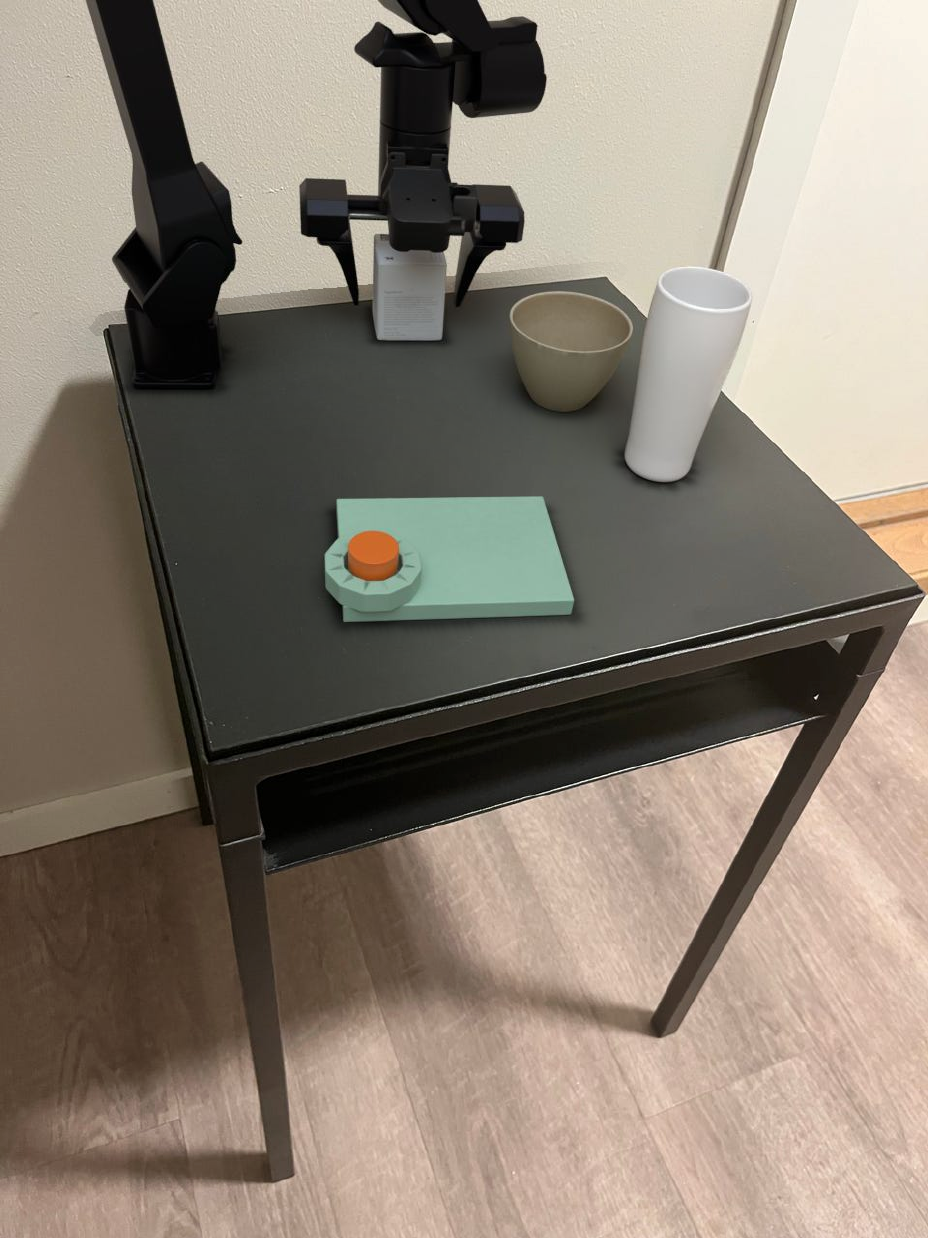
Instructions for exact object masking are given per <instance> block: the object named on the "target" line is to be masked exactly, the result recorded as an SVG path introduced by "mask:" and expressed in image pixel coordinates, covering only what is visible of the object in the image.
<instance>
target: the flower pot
mask: <svg viewBox="0 0 928 1238" xmlns="http://www.w3.org/2000/svg"><path fill="white" fill-rule="evenodd" d="M509 311H510V312H509V331H510V332H509V333H510V342H511V349H512V354H513V358H514V362H515V365H516V368H517V371H518V374H519V376H520V379H521V381H522V384H523V386H524V387H525V389H526V391H527V394H528V395H529V397H530V398H531V400H532V401H533V402H534V403H535V404H537V405H538V406H540V407H542V408H544V409H547V410H549V411H553V412H561V413H569V412H574V411H579V410H580V409H583V408H584V407H585V406H587V404H589V402H591V401H592V400H593V399H594V398H595V397H596V396H597V395H598V394H599V393H600V392H601V391H602V389H603V388H604V387H605V386H606V384H607V383H608V382H609V380H610V379H612V376H613V375H614V373H615V371H616V370H617V368H618V366H619V365H620V363H621V361H622V359H623V357H624V355H625V353H626V351H627V349H628V346H629V344H630V341H631V338H632V336H633V332H634V326H633V322H632V320H631V318H630V317H629V315H628V314H627V313H625V312H624V311H623V310H622V309H621V308H620V307H618V306H617V305H615V304H613V303H611V302H610V301H606V299H603V298H600V297H597V296H593V295H590V294H585V293H580V292H574V291H565V290H564V291H562V290H561V291H560V290H557V291H556V290H554V291H552V290H551V291H545V292H538V293H533V294H530V295H528V296H525V297H523V298H521V299H519V300H518V301H517V302H515V304H514V305H513V306H512V307H511V310H509Z"/></svg>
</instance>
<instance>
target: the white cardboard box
mask: <svg viewBox="0 0 928 1238" xmlns="http://www.w3.org/2000/svg"><path fill="white" fill-rule="evenodd" d="M372 257H373V259H372V260H373V262H372V263H373V264H372V306H371V308H372V309H371V310H372V319H373V325H374V330H375V331H374V332H375V336H376V339H377V340H379V341H441V340H442V339H443V331H444V330H443V329H444V316H445V301H446V284H447V268H448V264H447V259H446V255H445V251H444V252H440V253H433V252H431V251H425V250H410V251H408V252H400V251H396V250H394V249H393V248H392V247H391V246H390V243H389V233H375V234H374V235H373V256H372Z"/></svg>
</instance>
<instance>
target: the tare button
mask: <svg viewBox="0 0 928 1238" xmlns="http://www.w3.org/2000/svg"><path fill="white" fill-rule="evenodd" d="M398 559H399V545H398V543H397V541H396V540H395V539H394V538H393V537H392V536H391V535H389V534H387V533H384V532H380V531H365V532H361V533H359V534H357V535H355V536H354V537H353V538H352V539H351V540H350V542H349V544H348V567H349V570H350V571H351V573H352V574H353V575H354V576H356V577H357V578H360V579H363V580H366V581H382V580H386V579H388V578H390V577H391V576H393V575H394V574H395V572H396V571H397V569H398Z"/></svg>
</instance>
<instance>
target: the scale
mask: <svg viewBox="0 0 928 1238" xmlns="http://www.w3.org/2000/svg"><path fill="white" fill-rule="evenodd" d="M335 502H336V526H337V539H336V540H335V541H334V542H333V543H332V544H331V546H330V547H329V548H328V549H327V551H325V553H324V585H325V589H326V590H327V592H328V593H329V594H330V595H331V596H332V597H333V598H334V599H335V600H336V601H337V603H339V604H340V605H342V621H343V622H344V623H358V622H360V623H361V622H391V621H419V620H420V621H422V620H423V621H424V620H450V619H452V620H454V619H481V618H482V619H484V618H485V619H486V618H513V617H542V616H543V617H544V616H545V617H546V616H571V615H572V612H573V608H574V604H575V598H574V593H573V592H572V588H571V584H570V581H569V577H568V574H567V571H566V567H565V564H564V562H563V558H562V555H561V551H560V548H559V545H558V541H557V538H556V535H555V531H554V528H553V526H552V521H551V518H550V515H549V511H548V508H547V505H546V502H545V498H544V496H541V495H539V496H538V495H537V496H533V495H532V496H531V495H530V496H475V497H474V496H466V497H465V496H461V497H455V496H454V497H384V498H382V497H381V498H379V497H377V498H373V497H372V498H336V501H335ZM365 531H380V532H384V533H387V534H389V535H391V536H392V537H393V538H394V539H395V540H396V541H397V543H398V545H399V559H398V569H397V571H396V572H395V574H394V575H393V576H391V577H390V578H388V579H386V580H382V581H366V580H363V579H360V578H357V577H356V576H354V575H353V574H352V573H351V571H350V570H349V567H348V544H349V542H350V540H351V539H352V538H353V537H354V536H355V535H357V534H359V533H361V532H365Z"/></svg>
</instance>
